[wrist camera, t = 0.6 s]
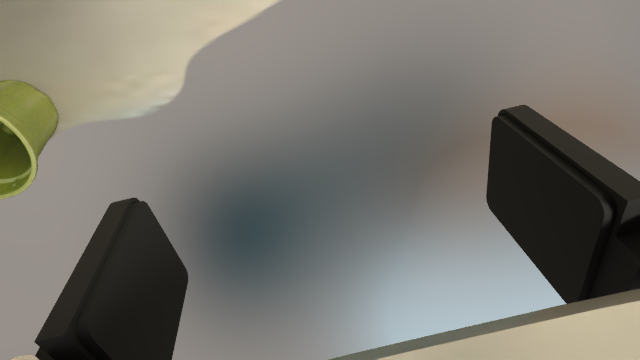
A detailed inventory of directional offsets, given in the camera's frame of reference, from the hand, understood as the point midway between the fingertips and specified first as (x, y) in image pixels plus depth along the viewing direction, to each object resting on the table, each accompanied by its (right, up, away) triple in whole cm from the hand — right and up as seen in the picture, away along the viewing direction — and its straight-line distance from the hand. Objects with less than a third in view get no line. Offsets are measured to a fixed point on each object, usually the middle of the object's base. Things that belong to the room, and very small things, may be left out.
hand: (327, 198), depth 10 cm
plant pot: (-29, +7, +27) cm, 41 cm away
